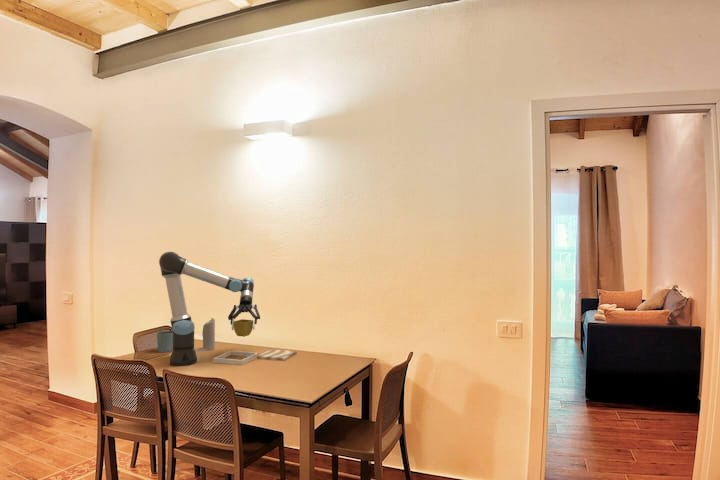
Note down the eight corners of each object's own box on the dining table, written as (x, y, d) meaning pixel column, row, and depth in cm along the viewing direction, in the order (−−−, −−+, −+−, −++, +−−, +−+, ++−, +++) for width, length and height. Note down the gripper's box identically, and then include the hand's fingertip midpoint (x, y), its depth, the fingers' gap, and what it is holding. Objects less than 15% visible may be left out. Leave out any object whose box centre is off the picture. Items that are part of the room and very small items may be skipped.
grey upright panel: (192, 349, 290) (192, 318, 290) (214, 347, 294) (214, 317, 294) (191, 351, 283) (191, 320, 283) (214, 350, 287) (214, 319, 288)
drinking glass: (153, 351, 282) (153, 333, 283) (164, 348, 292) (164, 330, 292) (166, 353, 280) (166, 334, 280) (177, 349, 289) (177, 331, 289)
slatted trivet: (257, 358, 266) (257, 356, 266) (270, 351, 283) (270, 349, 283) (284, 360, 261) (284, 358, 261) (296, 353, 278) (296, 351, 278)
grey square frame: (212, 362, 257) (212, 358, 257) (230, 354, 275) (230, 350, 275) (242, 364, 252) (242, 360, 252) (258, 356, 270) (258, 352, 270)
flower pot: (254, 334, 267) (253, 320, 267) (244, 337, 259) (244, 322, 259) (242, 333, 271) (242, 319, 271) (232, 336, 263) (232, 321, 263)
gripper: (265, 302, 282) (263, 331, 267) (227, 303, 279) (223, 332, 264) (265, 295, 277) (263, 324, 262) (225, 296, 274) (221, 325, 259)
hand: (243, 328), depth 263 cm, fingers closed on flower pot, 11 cm apart
